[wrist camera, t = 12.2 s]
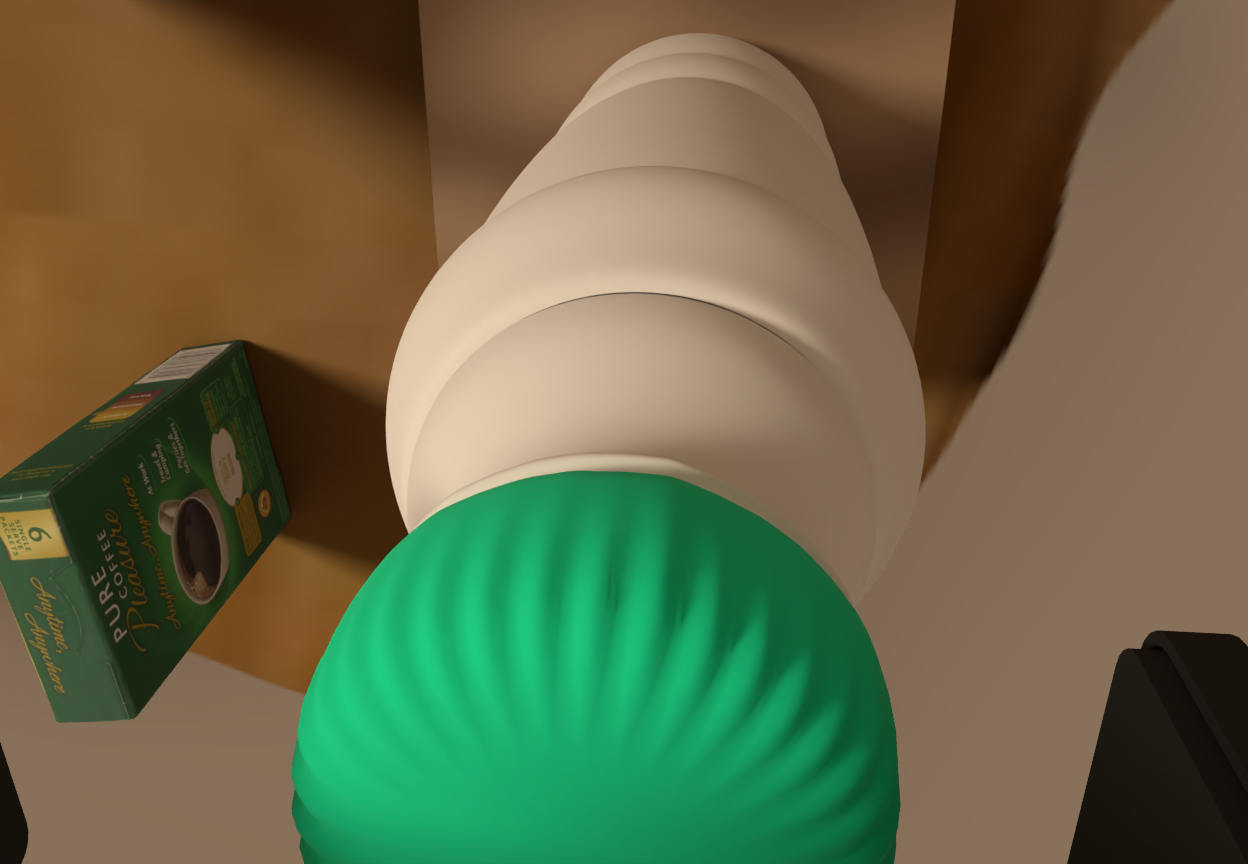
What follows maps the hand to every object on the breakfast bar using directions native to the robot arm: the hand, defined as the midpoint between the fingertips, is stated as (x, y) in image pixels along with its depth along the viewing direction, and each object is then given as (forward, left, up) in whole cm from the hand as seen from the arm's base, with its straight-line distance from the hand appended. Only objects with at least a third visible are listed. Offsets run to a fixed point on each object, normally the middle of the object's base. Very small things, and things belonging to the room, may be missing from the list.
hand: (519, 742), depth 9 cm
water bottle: (0, +1, -24) cm, 24 cm away
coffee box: (+12, -17, -31) cm, 38 cm away
